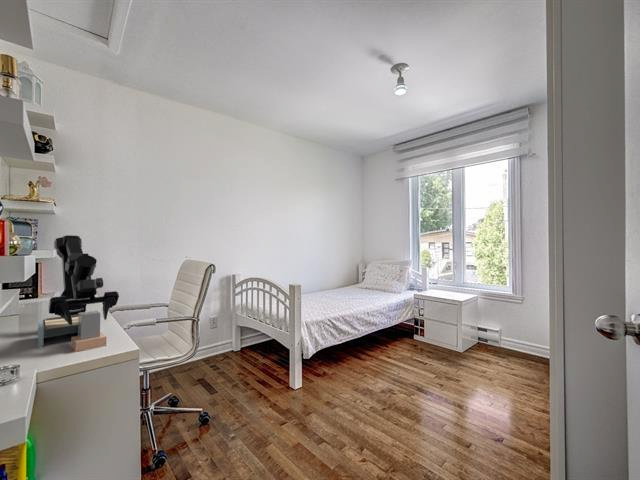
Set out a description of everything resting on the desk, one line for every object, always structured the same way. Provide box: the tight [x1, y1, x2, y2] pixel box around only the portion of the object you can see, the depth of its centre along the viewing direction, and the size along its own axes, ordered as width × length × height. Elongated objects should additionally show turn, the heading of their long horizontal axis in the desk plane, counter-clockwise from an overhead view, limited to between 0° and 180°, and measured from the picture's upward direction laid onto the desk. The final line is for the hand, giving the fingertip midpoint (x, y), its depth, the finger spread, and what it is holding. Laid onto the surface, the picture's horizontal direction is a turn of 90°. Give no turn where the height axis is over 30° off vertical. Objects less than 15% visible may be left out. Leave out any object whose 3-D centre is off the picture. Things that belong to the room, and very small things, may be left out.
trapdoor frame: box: [37, 318, 78, 349], centre depth 107 cm, size 15×15×6 cm
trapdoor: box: [44, 315, 78, 329], centre depth 107 cm, size 12×12×2 cm
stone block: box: [70, 331, 107, 353], centre depth 99 cm, size 8×8×3 cm
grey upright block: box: [77, 310, 101, 340], centre depth 99 cm, size 5×5×8 cm
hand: (89, 321), depth 99 cm, fingers open, 9 cm apart
